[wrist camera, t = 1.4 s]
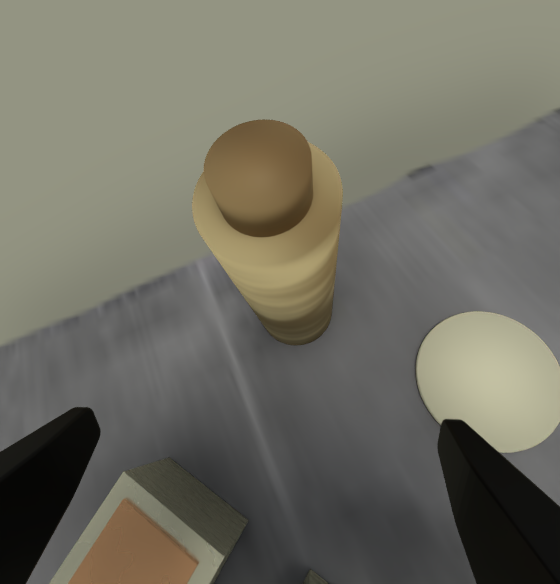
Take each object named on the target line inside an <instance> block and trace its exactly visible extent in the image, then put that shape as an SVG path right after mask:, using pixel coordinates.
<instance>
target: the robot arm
mask: <svg viewBox="0 0 560 584" xmlns="http://www.w3.org/2000/svg"><path fill="white" fill-rule="evenodd" d="M99 438H100V427H99V424H98V422H97V420H96V417H95V415H94V412H93V410H92V409H91V408H88V407H75V408H72V409H71V410H69V411H67V412H66V413H64V414H62V415H61V416H59V417H57V418H56V419H54V420H52V421H51V422H49V423H47V424H46V425H44V426H42V427H41V428H39V429H38V430H36V431H34V432H33V433H31V434H29V435H28V436H26V437H24V438H23V439H21V440H19V441H18V442H16V443H14V444H13V445H11V446H9V447H8V448H6V449H4V450H3V451H1V452H0V584H26V582H27V581H28V579H29V577H30V575H31V573H32V571H33V570H34V568H35V566H36V564H37V562H38V560H39V559H40V557H41V555H42V553H43V551H44V550H45V548H46V546H47V544H48V542H49V540H50V539H51V537H52V535H53V533H54V531H55V530H56V528H57V526H58V524H59V522H60V520H61V519H62V517H63V515H64V513H65V511H66V510H67V508H68V506H69V504H70V502H71V500H72V498H73V496H74V494H75V492H76V490H77V488H78V486H79V483H80V481H81V479H82V477H83V474H84V472H85V470H86V467H87V465H88V463H89V461H90V458H91V456H92V454H93V452H94V449H95V447H96V445H97V443H98V440H99ZM438 454H439V458H440V462H441V466H442V470H443V474H444V478H445V483H446V487H447V491H448V495H449V499H450V503H451V507H452V511H453V515H454V519H455V523H456V526H457V529H458V532H459V535H460V538H461V541H462V543H463V546H464V549H465V552H466V555H467V558H468V560H469V563H470V566H471V569H472V572H473V575H474V577H475V580H476V583H477V584H560V506H559V505H557V504H556V503H555V502H554V501H553V500H552V499H551V498H550V497H548V496H547V495H546V494H545V493H544V492H543V491H542V490H541V489H539V488H538V487H537V486H536V485H535V484H534V483H533V482H532V481H531V480H529V479H528V478H527V477H526V476H525V475H524V474H523V473H522V472H520V471H519V470H518V469H517V468H516V467H515V466H514V465H513V464H512V463H510V462H509V461H508V460H507V459H506V458H505V457H504V456H503V455H501V454H500V453H499V452H498V451H497V450H496V449H495V448H494V447H492V446H491V445H490V444H489V443H488V442H487V441H486V440H485V439H484V438H482V437H481V436H480V435H479V434H478V433H477V432H476V431H475V430H473V429H472V428H471V427H470V426H469V425H468V424H467V423H466V422H464V421H463V420H460V419H444V420H443V421H442V424H441V429H440V434H439V439H438Z"/></svg>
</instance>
